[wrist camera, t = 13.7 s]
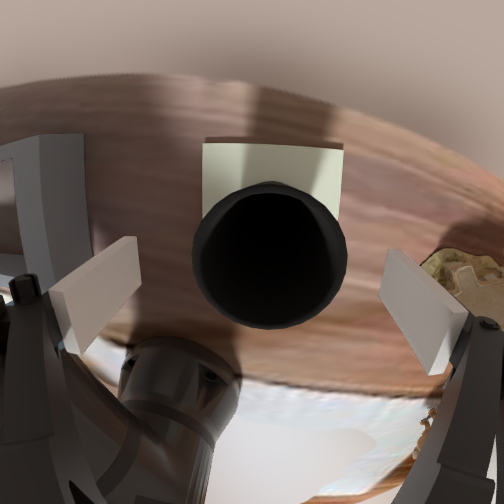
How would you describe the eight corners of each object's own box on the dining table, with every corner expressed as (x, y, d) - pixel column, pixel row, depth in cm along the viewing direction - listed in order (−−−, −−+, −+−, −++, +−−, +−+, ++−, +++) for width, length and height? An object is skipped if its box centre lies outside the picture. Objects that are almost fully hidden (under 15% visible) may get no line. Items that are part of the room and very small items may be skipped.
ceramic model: (401, 340, 30) (432, 400, 21) (411, 250, 26) (463, 296, 17) (488, 319, 28) (527, 362, 19) (503, 239, 25) (557, 271, 15)
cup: (274, 270, 27) (272, 353, 16) (210, 216, 26) (162, 268, 15) (333, 210, 25) (377, 259, 14) (267, 150, 24) (262, 149, 12)
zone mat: (329, 277, 28) (330, 279, 27) (205, 270, 28) (203, 273, 28) (341, 150, 24) (343, 150, 23) (204, 143, 24) (202, 143, 24)
